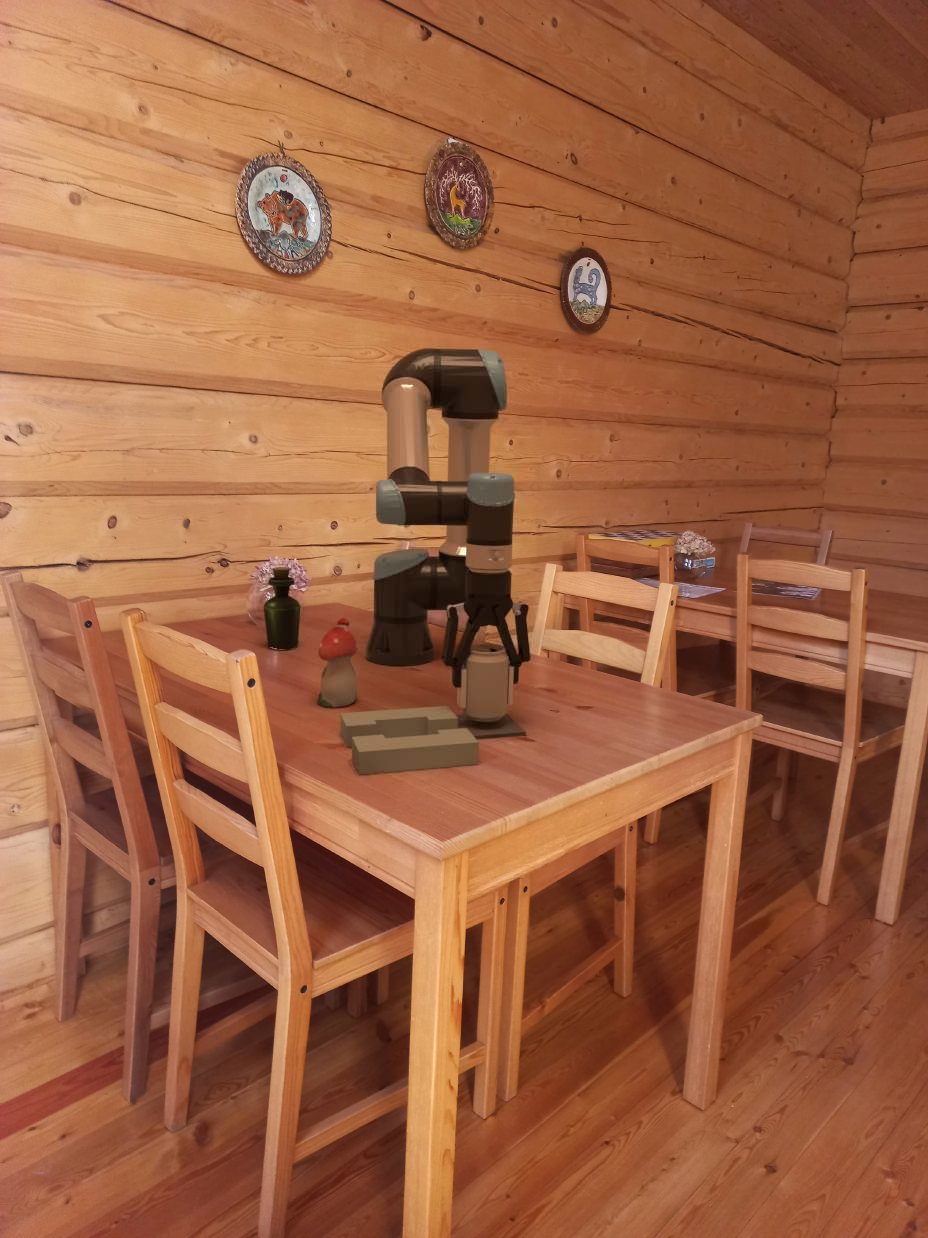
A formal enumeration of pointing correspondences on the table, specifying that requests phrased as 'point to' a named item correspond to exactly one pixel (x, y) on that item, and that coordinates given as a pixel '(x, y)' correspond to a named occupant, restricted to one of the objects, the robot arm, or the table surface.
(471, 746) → the pocket block
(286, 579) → the potion bottle
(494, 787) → the table surface
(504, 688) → the can
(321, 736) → the table surface
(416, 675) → the table surface
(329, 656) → the decorative ornament
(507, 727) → the coaster
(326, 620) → the table surface
